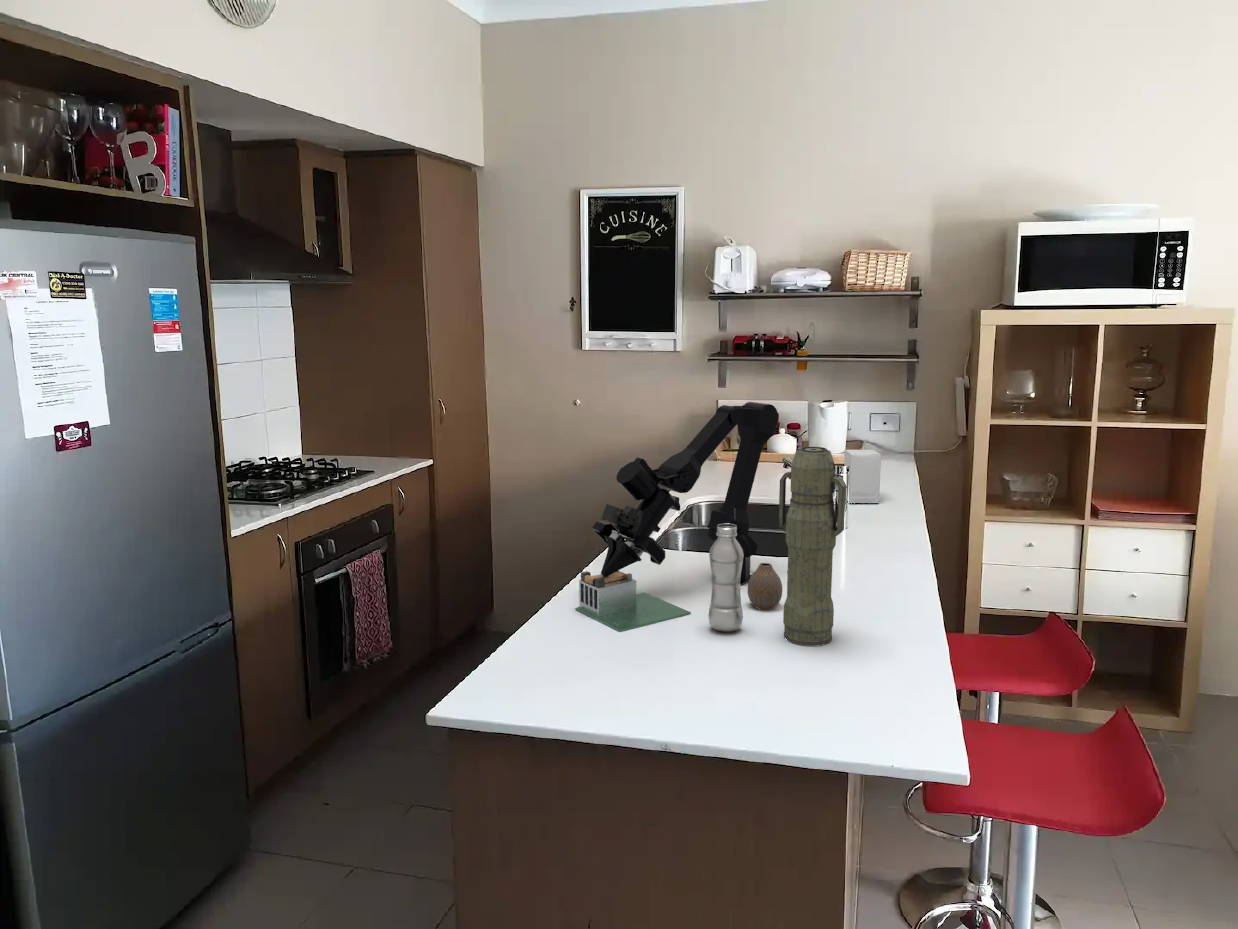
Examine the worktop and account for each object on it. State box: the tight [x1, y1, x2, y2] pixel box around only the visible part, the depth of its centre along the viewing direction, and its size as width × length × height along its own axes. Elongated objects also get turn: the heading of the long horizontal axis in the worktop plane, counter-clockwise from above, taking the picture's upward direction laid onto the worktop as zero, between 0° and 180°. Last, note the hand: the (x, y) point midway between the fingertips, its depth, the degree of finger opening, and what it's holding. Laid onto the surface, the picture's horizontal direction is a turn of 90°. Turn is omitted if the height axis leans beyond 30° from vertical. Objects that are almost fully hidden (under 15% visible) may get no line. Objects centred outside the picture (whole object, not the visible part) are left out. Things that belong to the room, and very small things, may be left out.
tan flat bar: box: [585, 570, 627, 585], centre depth 191 cm, size 8×3×1 cm, turn 125°
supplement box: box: [843, 449, 882, 505], centre depth 286 cm, size 9×9×15 cm
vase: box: [747, 562, 783, 610], centre depth 193 cm, size 7×7×9 cm
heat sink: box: [575, 570, 692, 633], centre depth 190 cm, size 17×16×8 cm
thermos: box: [778, 446, 847, 647], centre depth 173 cm, size 9×12×35 cm
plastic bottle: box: [708, 524, 744, 632], centre depth 179 cm, size 6×7×20 cm
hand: (603, 575), depth 191 cm, fingers closed, pressing on tan flat bar
